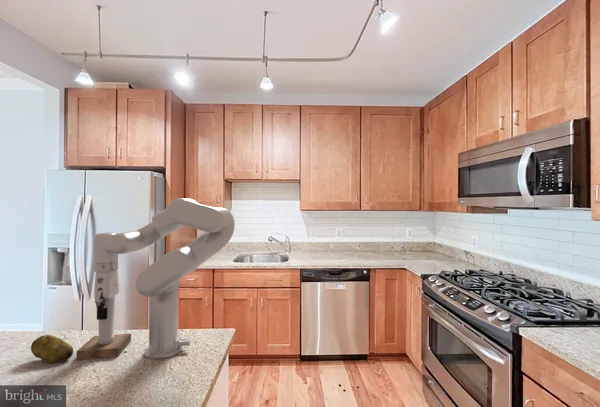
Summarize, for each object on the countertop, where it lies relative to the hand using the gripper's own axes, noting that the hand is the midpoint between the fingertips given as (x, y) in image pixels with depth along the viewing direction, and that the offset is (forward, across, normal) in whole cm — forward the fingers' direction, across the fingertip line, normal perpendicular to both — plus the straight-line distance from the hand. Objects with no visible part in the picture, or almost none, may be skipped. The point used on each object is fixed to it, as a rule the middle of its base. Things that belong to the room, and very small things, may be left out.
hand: (106, 315), depth 115 cm
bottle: (+10, 0, 0) cm, 10 cm away
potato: (+13, -5, +15) cm, 20 cm away
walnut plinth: (+12, 0, 0) cm, 12 cm away
